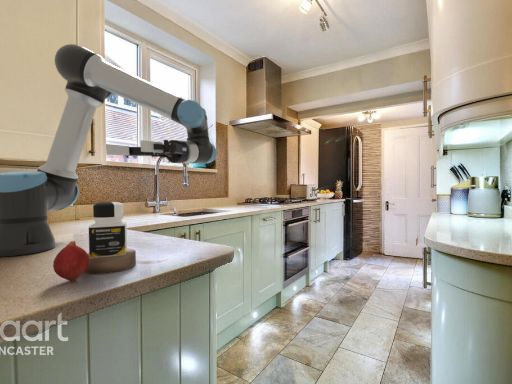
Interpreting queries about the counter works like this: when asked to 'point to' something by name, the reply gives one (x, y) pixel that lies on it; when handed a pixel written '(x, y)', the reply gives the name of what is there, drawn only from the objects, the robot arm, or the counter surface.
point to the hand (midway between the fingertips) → (123, 147)
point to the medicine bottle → (107, 231)
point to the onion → (71, 262)
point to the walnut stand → (112, 263)
